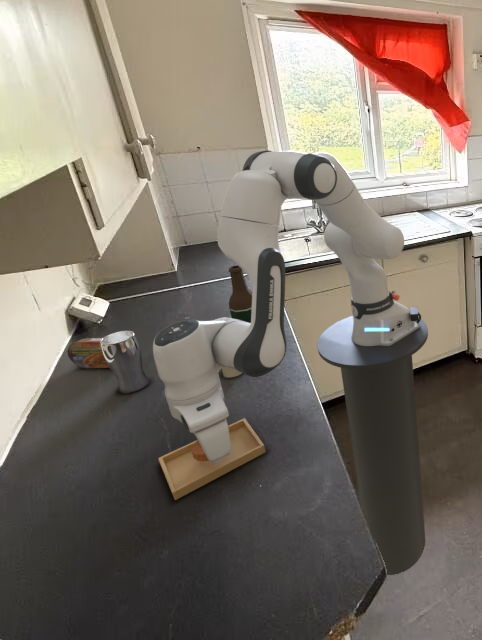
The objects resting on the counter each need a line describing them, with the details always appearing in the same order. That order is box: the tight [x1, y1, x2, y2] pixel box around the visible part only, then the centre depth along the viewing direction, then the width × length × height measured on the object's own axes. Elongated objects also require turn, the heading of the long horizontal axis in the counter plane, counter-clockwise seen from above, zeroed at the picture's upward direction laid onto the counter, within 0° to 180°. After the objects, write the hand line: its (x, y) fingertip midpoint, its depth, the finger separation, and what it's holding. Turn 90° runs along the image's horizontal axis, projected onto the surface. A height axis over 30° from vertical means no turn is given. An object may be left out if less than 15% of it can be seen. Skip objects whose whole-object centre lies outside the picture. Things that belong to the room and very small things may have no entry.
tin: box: [67, 337, 110, 369], centre depth 119 cm, size 15×3×8 cm, turn 92°
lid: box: [192, 440, 208, 461], centre depth 89 cm, size 6×6×2 cm
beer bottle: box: [228, 264, 252, 323], centre depth 133 cm, size 8×8×24 cm
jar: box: [221, 366, 243, 379], centre depth 117 cm, size 5×5×11 cm
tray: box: [157, 417, 267, 501], centre depth 90 cm, size 16×12×2 cm
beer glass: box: [100, 330, 150, 394], centre depth 109 cm, size 7×7×15 cm
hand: (212, 451), depth 90 cm, fingers closed on lid, 6 cm apart
